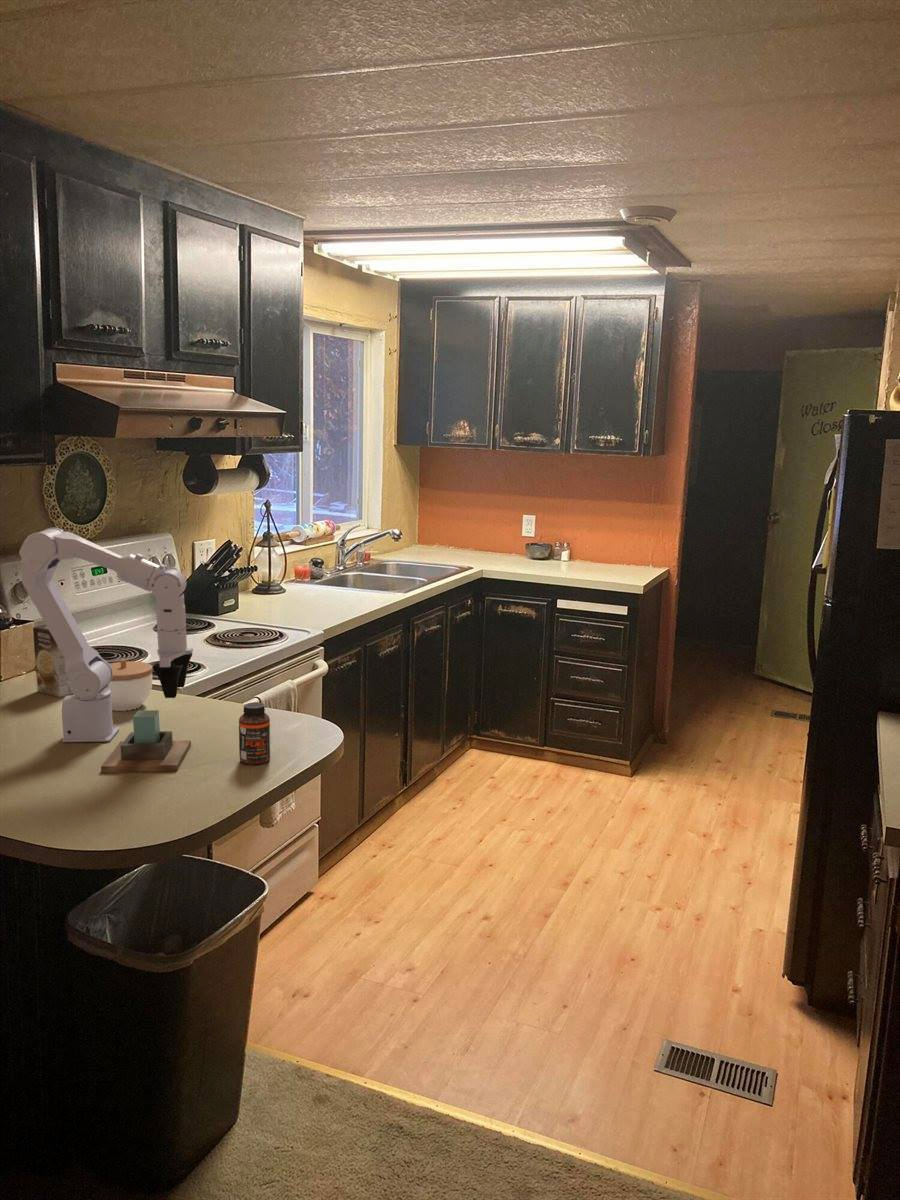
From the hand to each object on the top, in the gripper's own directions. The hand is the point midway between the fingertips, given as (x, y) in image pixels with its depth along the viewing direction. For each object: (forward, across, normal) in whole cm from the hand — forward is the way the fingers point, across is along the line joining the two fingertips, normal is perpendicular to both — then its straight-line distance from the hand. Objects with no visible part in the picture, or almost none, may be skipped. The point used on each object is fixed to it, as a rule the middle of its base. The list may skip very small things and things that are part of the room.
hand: (174, 692), depth 200 cm
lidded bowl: (+10, +21, +16) cm, 28 cm away
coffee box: (+10, +34, +36) cm, 50 cm away
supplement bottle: (+10, -15, -18) cm, 26 cm away
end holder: (+9, -14, +2) cm, 17 cm away
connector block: (+8, -14, +2) cm, 16 cm away
